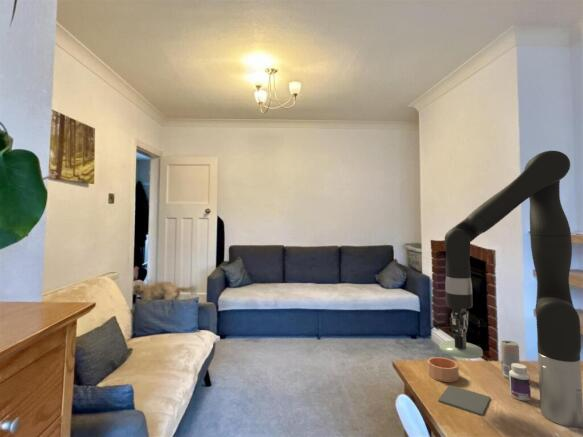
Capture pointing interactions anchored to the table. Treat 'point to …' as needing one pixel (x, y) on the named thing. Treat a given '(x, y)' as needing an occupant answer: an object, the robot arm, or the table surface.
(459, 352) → the lid
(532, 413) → the table surface
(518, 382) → the pill bottle
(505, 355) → the energy drink
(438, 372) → the bowl
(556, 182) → the robot arm
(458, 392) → the mat
